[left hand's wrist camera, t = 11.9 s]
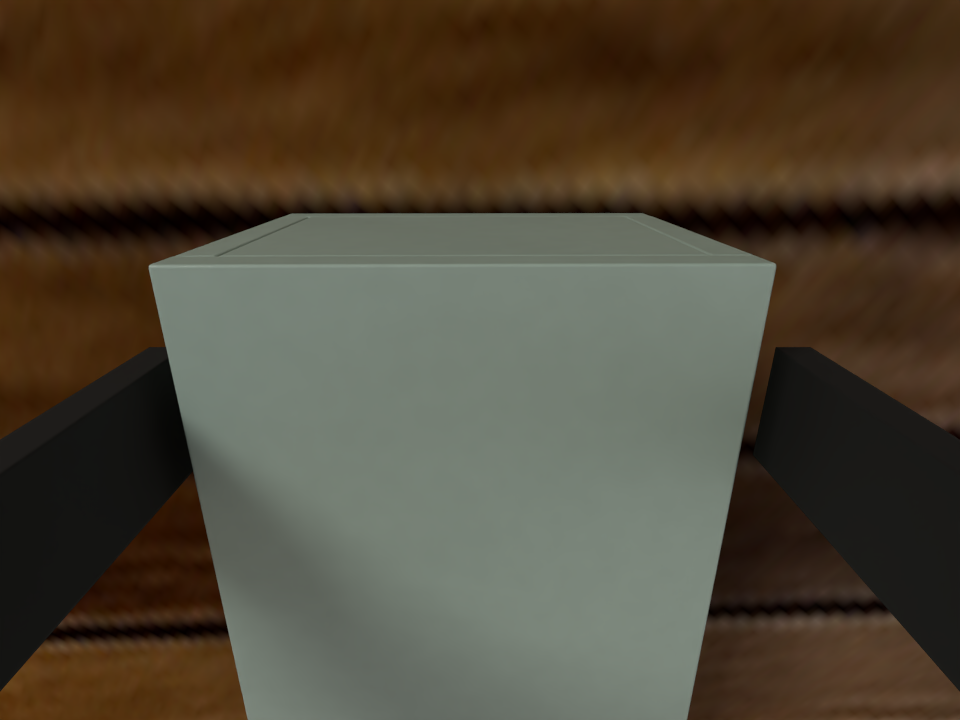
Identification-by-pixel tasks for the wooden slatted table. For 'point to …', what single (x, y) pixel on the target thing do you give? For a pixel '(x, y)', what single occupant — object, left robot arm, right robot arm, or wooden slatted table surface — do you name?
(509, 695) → the cabinet
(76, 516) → the left robot arm
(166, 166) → the wooden slatted table surface
